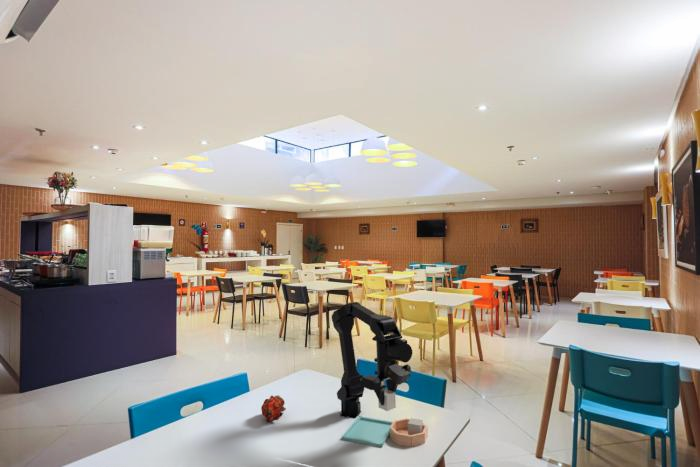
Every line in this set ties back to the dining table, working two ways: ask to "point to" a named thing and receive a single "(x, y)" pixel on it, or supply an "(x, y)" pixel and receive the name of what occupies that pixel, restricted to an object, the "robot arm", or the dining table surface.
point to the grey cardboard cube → (388, 400)
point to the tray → (368, 431)
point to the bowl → (401, 433)
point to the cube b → (415, 426)
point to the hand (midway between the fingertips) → (387, 403)
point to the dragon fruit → (273, 408)
